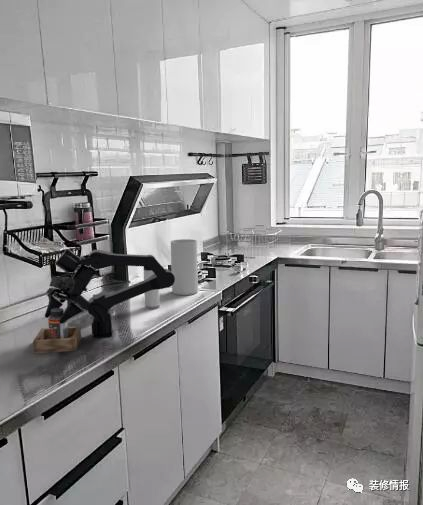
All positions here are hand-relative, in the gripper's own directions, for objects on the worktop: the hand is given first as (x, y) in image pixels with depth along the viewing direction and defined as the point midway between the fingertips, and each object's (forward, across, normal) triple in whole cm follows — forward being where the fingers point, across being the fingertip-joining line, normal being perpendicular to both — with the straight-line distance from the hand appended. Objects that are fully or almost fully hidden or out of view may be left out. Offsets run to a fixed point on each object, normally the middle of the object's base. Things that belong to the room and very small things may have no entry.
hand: (52, 319), depth 152 cm
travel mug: (-30, -10, +43) cm, 53 cm away
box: (+5, 0, +7) cm, 9 cm away
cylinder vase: (-49, -18, +62) cm, 81 cm away
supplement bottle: (+5, 0, +7) cm, 8 cm away
